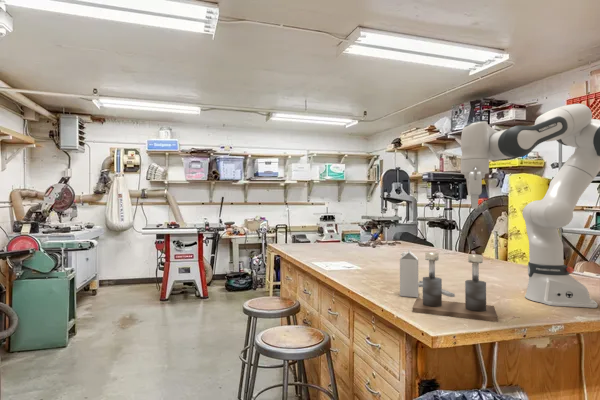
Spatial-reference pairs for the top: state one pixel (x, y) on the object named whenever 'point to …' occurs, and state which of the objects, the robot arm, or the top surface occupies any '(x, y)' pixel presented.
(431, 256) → the plunger
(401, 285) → the milk carton
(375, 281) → the top surface
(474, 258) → the plunger
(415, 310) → the press block
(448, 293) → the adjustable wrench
